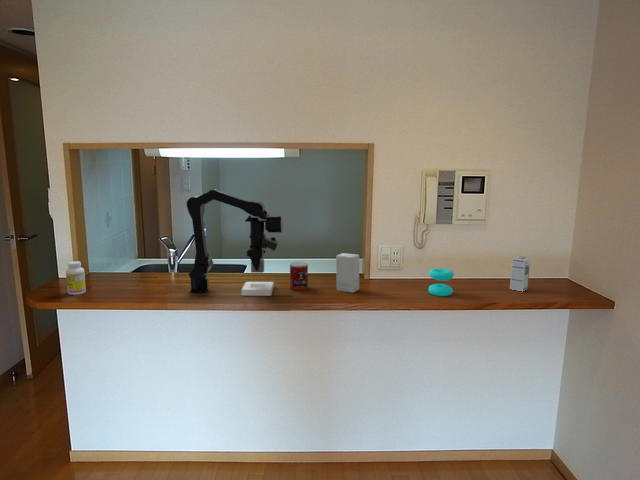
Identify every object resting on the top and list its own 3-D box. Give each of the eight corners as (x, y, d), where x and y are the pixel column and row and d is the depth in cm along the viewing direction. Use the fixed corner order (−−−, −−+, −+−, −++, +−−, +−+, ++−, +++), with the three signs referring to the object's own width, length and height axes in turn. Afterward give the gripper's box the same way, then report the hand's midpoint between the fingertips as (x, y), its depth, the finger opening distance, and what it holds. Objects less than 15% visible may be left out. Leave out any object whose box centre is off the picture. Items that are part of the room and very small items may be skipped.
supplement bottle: (65, 293, 182) (62, 262, 179) (82, 289, 187) (79, 259, 184) (71, 296, 177) (68, 265, 175) (88, 292, 182) (86, 262, 180)
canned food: (292, 291, 187) (292, 266, 185) (288, 286, 195) (288, 262, 193) (309, 290, 189) (309, 265, 187) (305, 285, 197) (305, 261, 195)
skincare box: (359, 289, 191) (360, 254, 188) (352, 293, 185) (353, 257, 183) (342, 286, 195) (343, 252, 192) (335, 290, 190) (335, 254, 187)
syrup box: (522, 292, 189) (526, 259, 187) (509, 289, 193) (511, 257, 191) (527, 290, 193) (530, 257, 191) (513, 287, 197) (516, 255, 195)
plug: (251, 272, 183) (251, 260, 182) (252, 270, 187) (252, 258, 186) (263, 272, 183) (263, 260, 182) (264, 270, 187) (264, 258, 186)
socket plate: (241, 295, 181) (241, 289, 180) (246, 287, 193) (246, 281, 192) (271, 295, 181) (270, 289, 181) (273, 287, 193) (273, 282, 192)
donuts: (433, 266, 192) (456, 269, 187) (432, 288, 194) (455, 292, 188) (426, 271, 184) (449, 274, 178) (424, 294, 185) (448, 298, 180)
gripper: (274, 236, 173) (275, 274, 176) (278, 229, 192) (278, 264, 194) (246, 235, 173) (246, 274, 176) (252, 228, 192) (253, 263, 194)
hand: (257, 269), depth 185 cm, fingers closed on plug, 4 cm apart
